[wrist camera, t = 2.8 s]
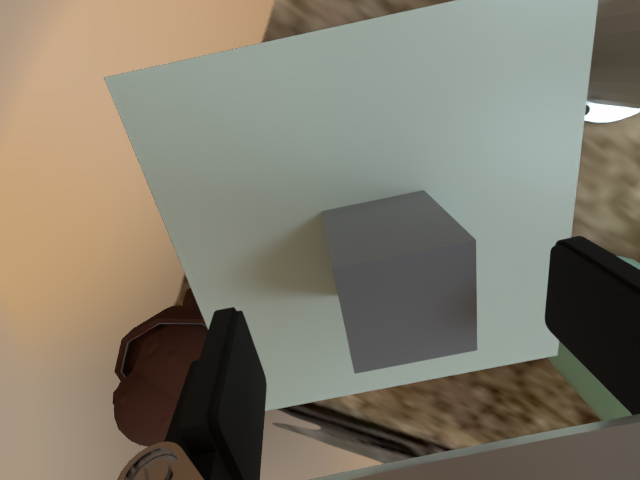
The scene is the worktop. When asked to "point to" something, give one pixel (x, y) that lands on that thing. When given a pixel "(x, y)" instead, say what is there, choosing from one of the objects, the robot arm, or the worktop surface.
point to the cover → (374, 187)
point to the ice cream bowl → (156, 370)
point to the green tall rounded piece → (590, 379)
